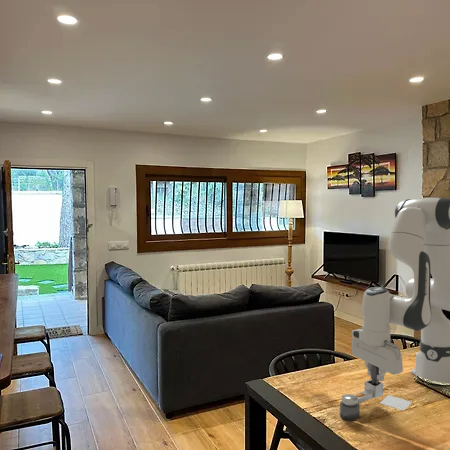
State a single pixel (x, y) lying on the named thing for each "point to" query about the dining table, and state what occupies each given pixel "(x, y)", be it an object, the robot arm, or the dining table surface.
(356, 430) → the dining table surface
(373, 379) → the dark grey post
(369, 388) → the crank
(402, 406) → the mat
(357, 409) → the crank post
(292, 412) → the dining table surface
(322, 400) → the dining table surface
